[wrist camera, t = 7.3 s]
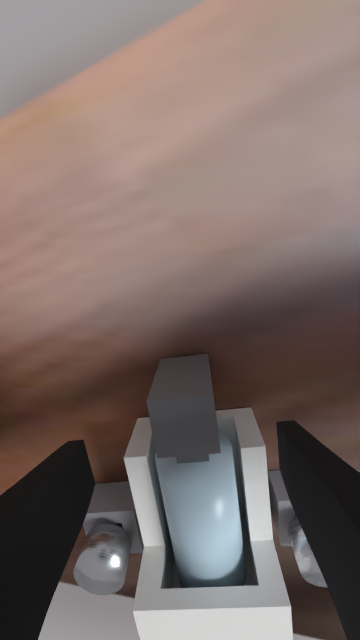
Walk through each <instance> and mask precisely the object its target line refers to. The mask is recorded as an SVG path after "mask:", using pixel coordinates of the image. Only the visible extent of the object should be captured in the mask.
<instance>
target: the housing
mask: <svg viewBox="0 0 360 640" xmlns="http://www.w3.org/2000/svg"><path fill="white" fill-rule="evenodd" d="M216 418H217V426H218V431H220V432H222V433H223V434H224V435H225V436H226V437H227V438H228V439H229V441H230V443H231V445H232V451H233V460H234V468H235V477H236V486H237V494H238V503H239V512H240V520H241V529H242V538H243V546H244V555H245V564H246V578H245V583H244V586H228V587H200V588H182V587H181V585H180V582H179V577H178V572H177V567H176V562H175V557H174V552H173V547H172V542H171V537H170V532H169V527H168V522H167V517H166V512H165V507H164V502H163V497H162V492H161V487H160V482H159V477H158V472H157V467H156V461H155V455H156V450H155V445H154V439H153V434H152V429H151V424H150V419H149V417H145V418H138V419H137V421H136V424H135V427H134V430H133V433H132V436H131V438H130V441H129V444H128V447H127V450H126V453H125V456H124V462H125V466H126V470H127V475H128V479H129V481H124V482H111V483H97V484H95V487H94V491H93V494H92V498H91V502H90V505H89V508H88V512H87V515H86V517H85V520H84V522H83V527H84V531H85V534H86V537H87V534H88V532H89V531H90V530H91V529H92V528H93V527H94V526H96V525H99V524H113V523H122V528H123V529H124V530H125V531H126V532H127V533H128V534H129V535H130V537H131V540H132V548H131V552H130V554H132V553H143V555H142V561H141V567H140V572H139V578H138V584H137V589H136V595H135V601H134V607H133V614H134V618H135V621H136V625H137V629H138V633H139V637H140V640H293V630H292V615H291V605H290V601H289V597H288V594H287V590H286V586H285V583H284V579H283V575H282V572H281V568H280V564H279V561H278V557H277V553H276V549H275V546H274V542H273V535H272V523H271V513H272V516H273V520H274V523H275V527H276V530H277V533H278V537H279V540H280V544H281V546H292V545H291V542H290V539H289V536H288V526H289V524H290V522H291V521H292V520H293V519H294V518H295V517H296V514H295V512H294V509H293V507H292V505H291V502H290V500H289V497H288V494H287V491H286V488H285V485H284V481H283V478H282V475H281V472H280V470H273V471H268V473H267V461H266V448H265V444H264V441H263V439H262V436H261V433H260V430H259V428H258V425H257V422H256V419H255V417H254V414H253V411H252V408H251V407H249V408H239V409H229V410H218V411H216ZM268 479H269V486H268ZM269 491H270V498H269ZM270 504H271V510H270Z"/></svg>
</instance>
